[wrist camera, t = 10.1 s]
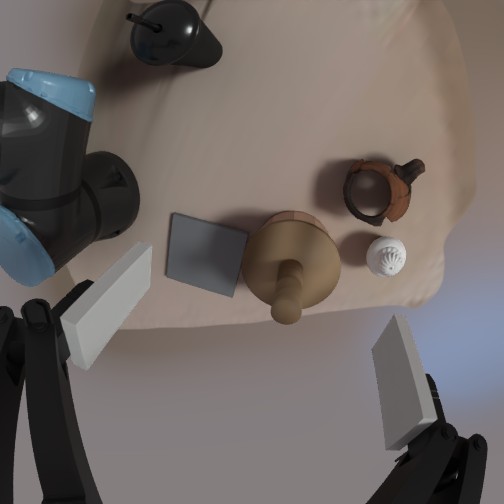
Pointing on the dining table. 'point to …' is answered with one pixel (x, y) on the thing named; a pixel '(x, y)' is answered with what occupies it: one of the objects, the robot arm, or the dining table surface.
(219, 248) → the grey mat
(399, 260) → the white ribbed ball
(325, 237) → the walnut lid
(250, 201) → the dining table surface
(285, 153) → the dining table surface
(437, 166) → the dining table surface
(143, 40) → the drinking cup
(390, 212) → the pottery mug
